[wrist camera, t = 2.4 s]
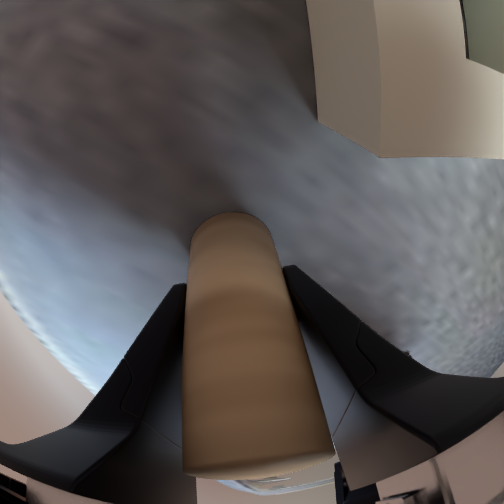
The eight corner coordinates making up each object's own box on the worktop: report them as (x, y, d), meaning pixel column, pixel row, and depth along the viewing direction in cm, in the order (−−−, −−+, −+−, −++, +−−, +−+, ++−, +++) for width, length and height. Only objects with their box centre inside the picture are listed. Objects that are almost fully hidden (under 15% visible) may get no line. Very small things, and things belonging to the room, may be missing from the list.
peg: (275, 273, 12) (326, 465, 6) (200, 285, 12) (205, 482, 5) (269, 205, 10) (348, 437, 4) (181, 220, 10) (157, 461, 4)
